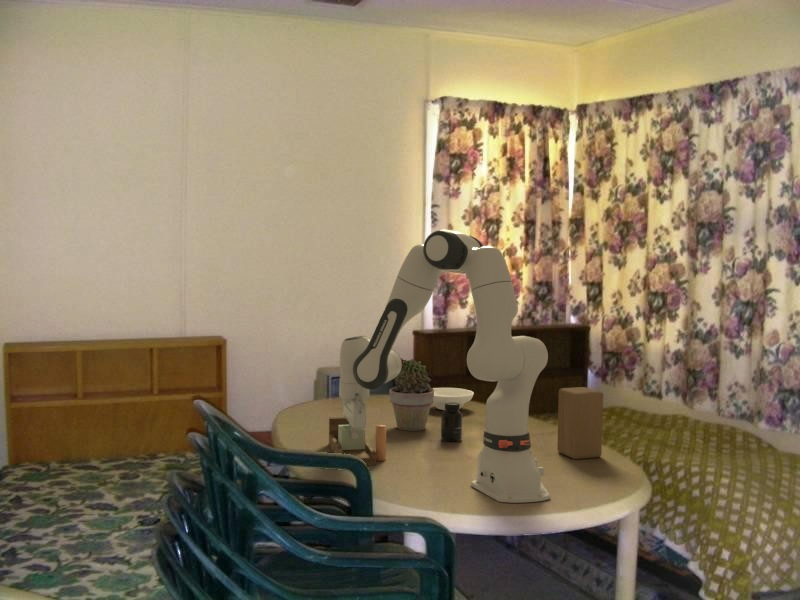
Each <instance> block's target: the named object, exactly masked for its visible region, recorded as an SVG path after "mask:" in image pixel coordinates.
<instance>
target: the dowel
mask: <svg viewBox="0 0 800 600" xmlns="http://www.w3.org/2000/svg"><path fill="white" fill-rule="evenodd" d="M375 452H376V462H378V461H379V462H385V461H386V460H387V425H385V424H377V425H376V426H375Z"/></svg>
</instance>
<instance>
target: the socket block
mask: <svg viewBox="0 0 800 600" xmlns="http://www.w3.org/2000/svg"><path fill="white" fill-rule="evenodd" d="M365 439H366V428H365V429H359V430H358V438H357V439H352V438H351V436H350V427H349V425H338V444H339V445H340V447H341V449H342V450H359V449H365Z"/></svg>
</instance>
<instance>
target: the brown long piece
mask: <svg viewBox="0 0 800 600" xmlns="http://www.w3.org/2000/svg"><path fill="white" fill-rule="evenodd" d="M338 425H349V422H348V421H347V419H346V418H345V417H344V416H337V417H335V416H334V417H328V445H329V447H330V449H331V451H332V452H335V453H342V454H344V453H345V454H351V455H354V456H357V457H358V458H360V459H362V460H363V461H364V462H365V463H366V464H367V465H366V466H374V465H376V464H377V460H376V450H374V448H373V447H372V446H371V444H370V443H369V441H367V439H366V438H365V449H359V450H342V449H341V447H340V445H339V444H338Z"/></svg>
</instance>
